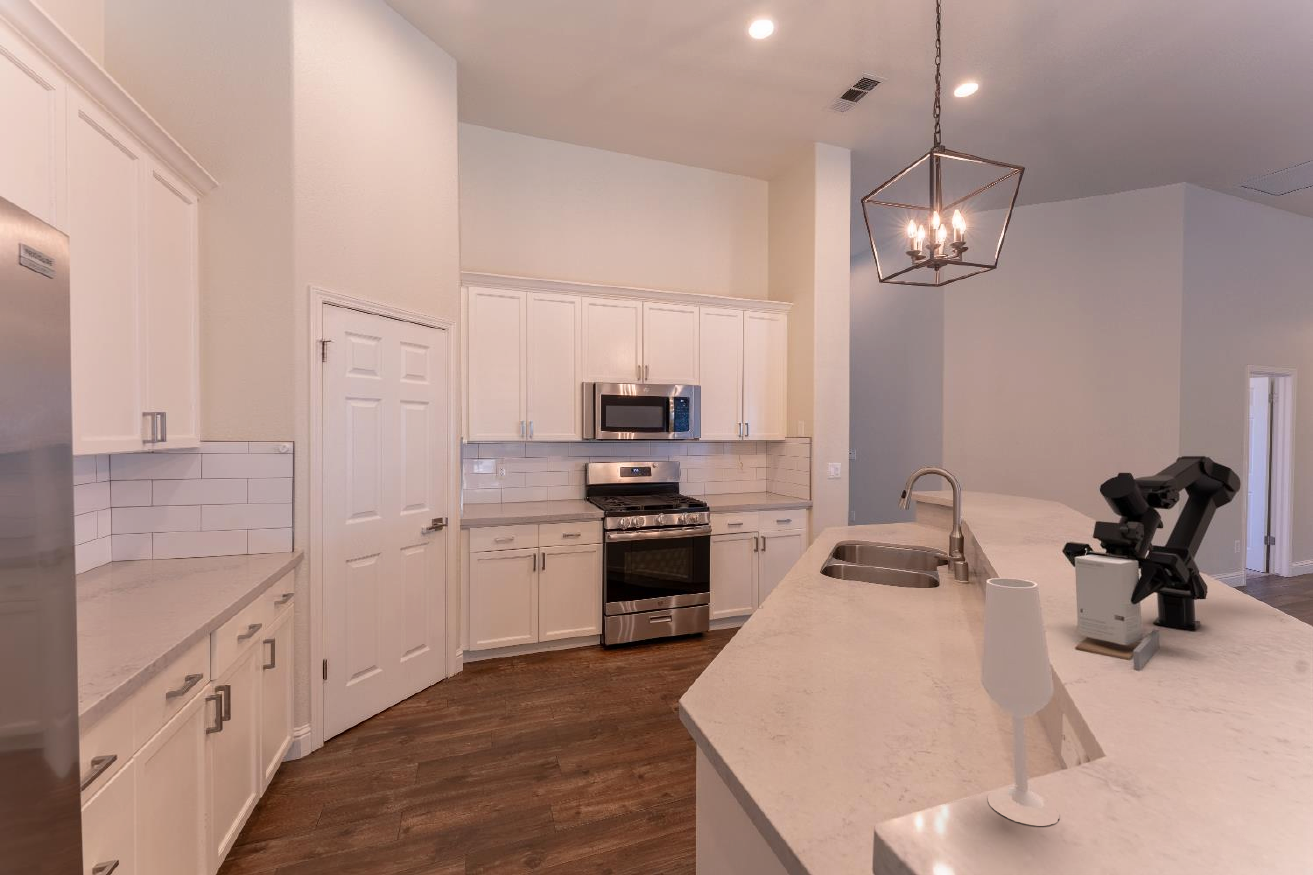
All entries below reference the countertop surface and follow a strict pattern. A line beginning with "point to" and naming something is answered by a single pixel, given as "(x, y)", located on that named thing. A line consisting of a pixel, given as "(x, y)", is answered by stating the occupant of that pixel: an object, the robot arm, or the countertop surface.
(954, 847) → the countertop surface
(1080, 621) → the skincare box
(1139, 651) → the low wall
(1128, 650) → the walnut board
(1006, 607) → the champagne flute
